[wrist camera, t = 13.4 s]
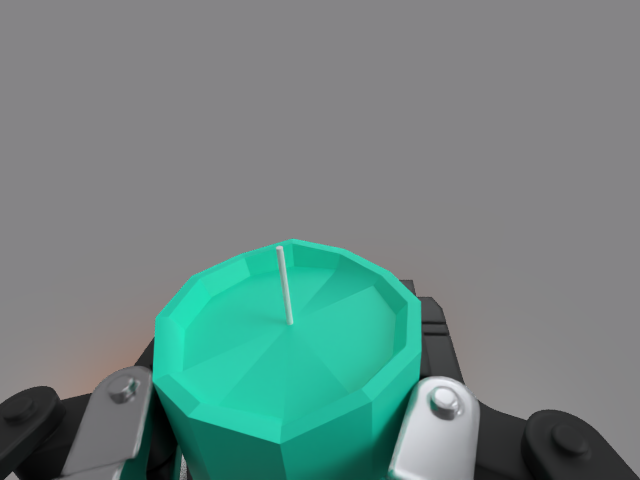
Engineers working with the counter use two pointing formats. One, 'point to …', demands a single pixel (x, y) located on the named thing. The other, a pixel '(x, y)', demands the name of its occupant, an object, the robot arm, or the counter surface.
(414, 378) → the candle
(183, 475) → the counter surface
